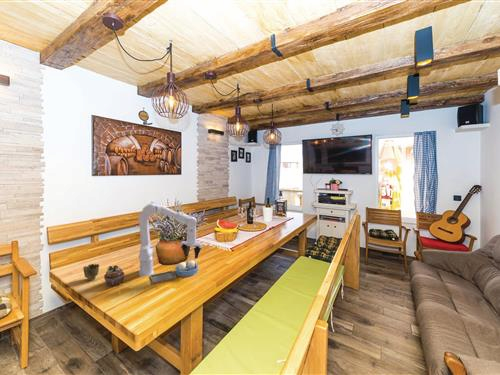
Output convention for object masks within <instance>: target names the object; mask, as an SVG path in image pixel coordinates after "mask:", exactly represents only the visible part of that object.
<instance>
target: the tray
mask: <svg viewBox="0 0 500 375" xmlns="http://www.w3.org/2000/svg"><path fill="white" fill-rule="evenodd" d="M177 277H178V276H177V275H176V273H175V271H173V270H169V271H168V270H167V271H163V272H159V273H154V274H152V275H149V278H150V280H151V283H152V285H155V284H159V283H160V284H161V283H163V282H164V283H165V282H169V281H173V280H175V279H177Z"/></svg>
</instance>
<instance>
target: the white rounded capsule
mask: <svg viewBox="0 0 500 375" xmlns="http://www.w3.org/2000/svg"><path fill="white" fill-rule="evenodd" d="M186 263H187V262H185V261H181V262H179V263H178V265H179V270H180V271H186Z"/></svg>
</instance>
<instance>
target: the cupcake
mask: <svg viewBox="0 0 500 375" xmlns="http://www.w3.org/2000/svg"><path fill="white" fill-rule="evenodd" d="M124 276H125V272H124V271H123V269H122V268H120V266H118V265H110V266H108V267H107V271H106V272H105V274H104V276H103V278H104V282H105V285H106V287H108V288H111V287H117V286H119V285H121V283H123V282H124Z"/></svg>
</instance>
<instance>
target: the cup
mask: <svg viewBox="0 0 500 375" xmlns="http://www.w3.org/2000/svg"><path fill="white" fill-rule="evenodd" d="M82 270H83V274H84V277H85V278H86V279H87V280H88V281H94V280H95V279H96V277H97V276H98V274H99V270H100V264H99V263H97V264H96V263H94V264H93V263H91V264H88V265H87V266H86V265H85V266H83V268H82Z"/></svg>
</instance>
